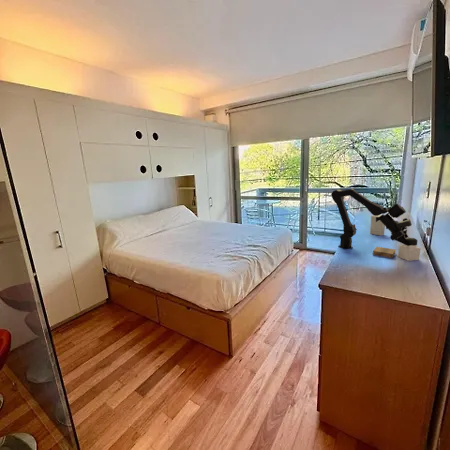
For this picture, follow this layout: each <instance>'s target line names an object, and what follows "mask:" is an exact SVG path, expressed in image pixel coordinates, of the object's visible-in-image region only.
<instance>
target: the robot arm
mask: <svg viewBox="0 0 450 450" xmlns="http://www.w3.org/2000/svg"><path fill="white" fill-rule="evenodd" d="M330 196H331V198H332V200H333V202H334V203H335V204H336V207H337V209H338V212H339V216H340V218H341V221H342V224H343V233H341V235H340V236H339V238H340V242H339V243H340V244H339V245H338V247H339V248H341V249H344V250H348V249H349V250H350V249H353V248H354V246H353V245H352V243H353V242H352V241H353V236H355V235H356V233H357V231H358V229H357V228H356V224H354V223H352V222H351V220H350V216H349V213H348V210H347V207H346V205H345V197H349V196H350V197H351V198H353V199H354V200H355V201H356V202H358V203H359V204H361V205H363V206H364V207H365V208H366V209H367V210H368V212H370V214H371V215H374V216H379V215H381V216H379V217H376V222H377V221H379V220H380V221H381V222H382V223H383V224H384V225H385V230H388V231H389V232H390V234H391V235H390V237H389V238H390V239H391V240H392V241H396V242H399V243H400V244H401V243H402V245H404V244H405V245H407V246H410V244H409V242H408V241H407V239H406V238H410V237H409V235H408V233H407V232H408V228H409V227H412V221H411V220H410V219H408V218H407V217H405V218H402V220H401V221H398V220H395V219H398V218H399V217H401V216H402V215H404V214H406V213H407V211H406V209H405V208H404V207H403V206H401V205H400V204H398V203H395V204H394V205H393V206H391V207H390V208H387V207H383V206H382V205H381V204H378V203H377V202H373V201H371V200H369V199H368V198H367V197H365V196H364V195H362V194H361V193H359V192H358V191H356V190H355V189H354V188H350V189H344V190H341V189H336V190H333V191H332V192H331V194H330Z"/></svg>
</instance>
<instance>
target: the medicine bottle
mask: <svg viewBox="0 0 450 450" xmlns="http://www.w3.org/2000/svg"><path fill="white" fill-rule="evenodd" d="M406 239H407V241H408V242H409V244H410V246H407V245H405V244H400V245H399V247H398V253H397V257H398V258H400V259H403V260H405V261H408V262H410V261H419V260H420V255H421V250H422V249H421V247H419V246H418V239H417V238H414V237H409V238H406Z"/></svg>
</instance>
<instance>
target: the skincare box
mask: <svg viewBox="0 0 450 450" xmlns="http://www.w3.org/2000/svg"><path fill="white" fill-rule="evenodd" d="M381 215H382V214H380V215H379V216H381ZM379 216H374V215H373V214H371V216H370V230H369V234H370V235H377V236H384V235H385V230H386V226H385V225H384V224H383V223H382V222H381V221H380V220H379V221H377V222H376V217H379Z"/></svg>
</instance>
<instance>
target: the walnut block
mask: <svg viewBox="0 0 450 450" xmlns="http://www.w3.org/2000/svg"><path fill="white" fill-rule="evenodd" d="M395 254H396V249H394V248H388V247H387V248H386V247H382V246H376V247H375V248H374V249H373V251H372V256H378V257H383V258H387V259H388V258H389V259H393V258H394V257H395Z"/></svg>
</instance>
